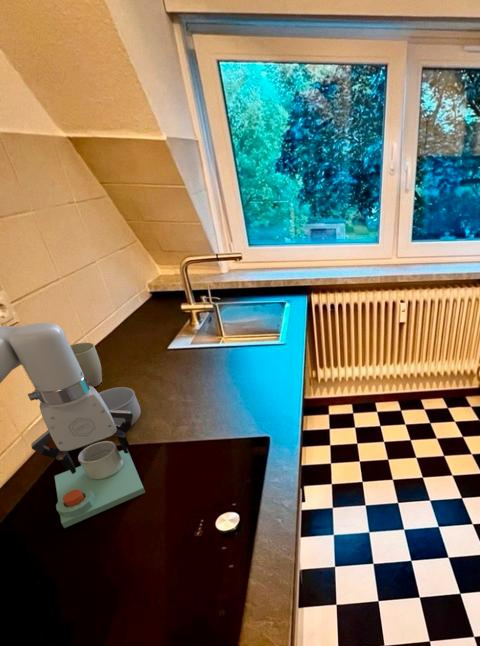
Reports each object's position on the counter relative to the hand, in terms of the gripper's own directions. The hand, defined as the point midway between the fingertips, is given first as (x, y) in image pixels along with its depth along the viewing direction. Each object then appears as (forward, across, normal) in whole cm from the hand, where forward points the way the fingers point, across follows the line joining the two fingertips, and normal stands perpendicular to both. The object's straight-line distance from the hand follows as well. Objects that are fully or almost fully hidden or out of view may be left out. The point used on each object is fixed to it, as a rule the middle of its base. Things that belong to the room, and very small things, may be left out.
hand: (100, 459), depth 81 cm
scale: (+4, -2, -3) cm, 6 cm away
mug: (+4, +3, +46) cm, 46 cm away
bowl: (+3, 0, 0) cm, 3 cm away
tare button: (+2, -6, -8) cm, 10 cm away
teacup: (+4, +5, +20) cm, 21 cm away
